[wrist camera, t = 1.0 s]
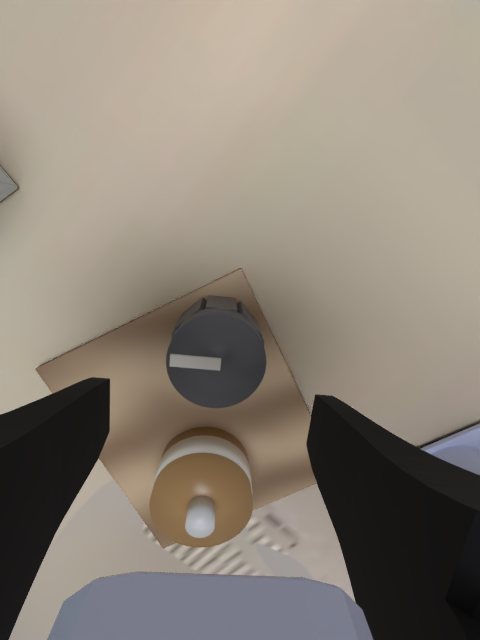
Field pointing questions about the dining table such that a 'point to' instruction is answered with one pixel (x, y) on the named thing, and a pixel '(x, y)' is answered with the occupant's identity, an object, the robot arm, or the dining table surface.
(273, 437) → the board
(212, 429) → the jar
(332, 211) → the dining table surface
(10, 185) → the supplement box
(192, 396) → the cap
